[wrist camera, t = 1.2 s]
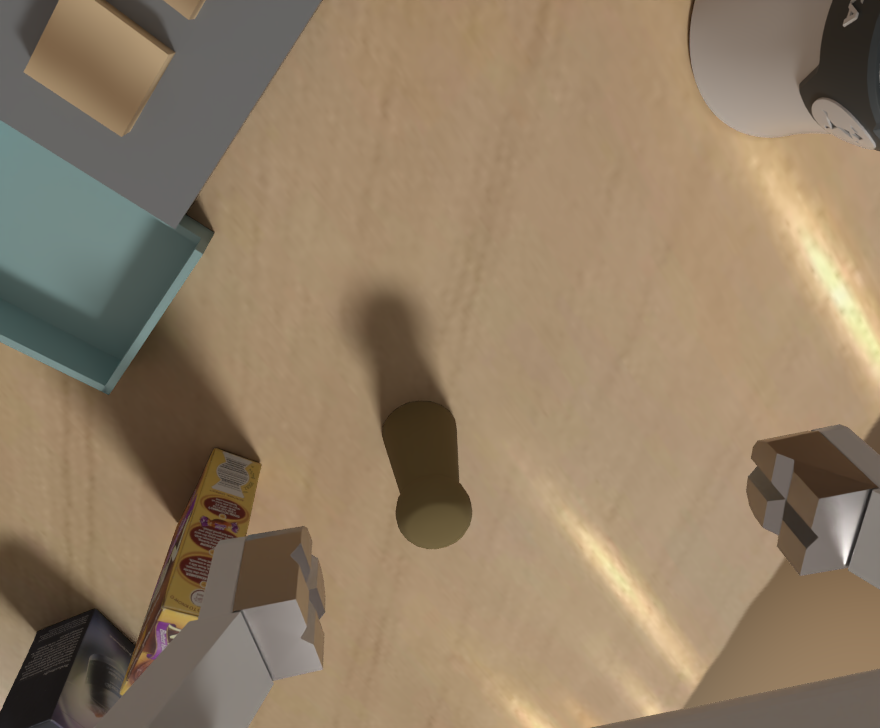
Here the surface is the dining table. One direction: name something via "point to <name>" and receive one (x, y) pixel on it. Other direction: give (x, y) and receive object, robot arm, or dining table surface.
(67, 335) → the tray
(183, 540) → the candy box
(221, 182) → the dining table surface
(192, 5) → the oak tile
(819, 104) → the robot arm
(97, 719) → the small box
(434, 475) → the cork
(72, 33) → the oak tile
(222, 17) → the slate board
